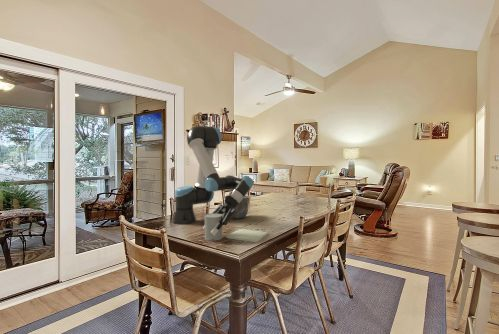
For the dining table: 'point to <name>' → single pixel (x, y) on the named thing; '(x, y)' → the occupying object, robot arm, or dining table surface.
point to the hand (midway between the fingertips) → (208, 231)
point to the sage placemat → (247, 235)
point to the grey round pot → (240, 208)
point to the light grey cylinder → (212, 226)
